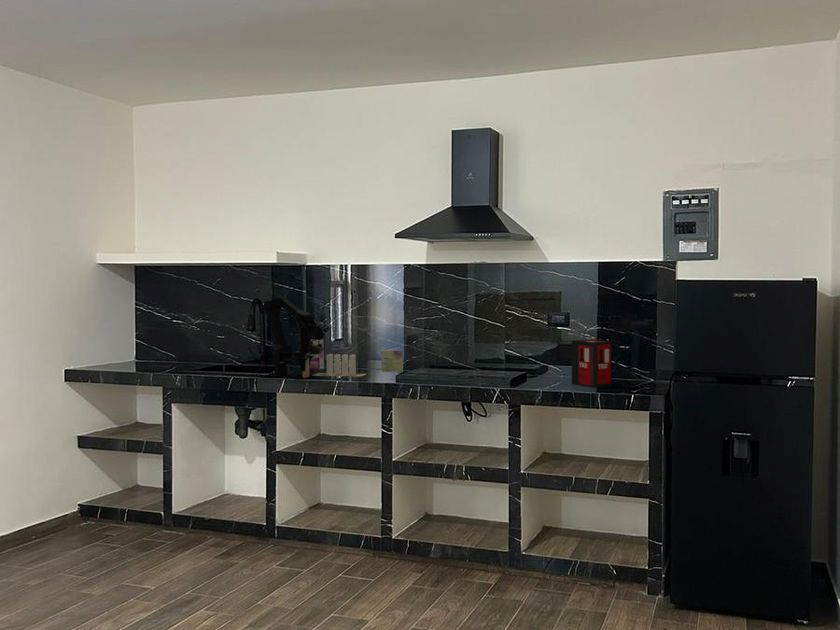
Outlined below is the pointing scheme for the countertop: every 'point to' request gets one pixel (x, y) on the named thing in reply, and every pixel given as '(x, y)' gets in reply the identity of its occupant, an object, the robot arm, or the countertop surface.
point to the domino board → (337, 375)
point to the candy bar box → (318, 357)
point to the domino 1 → (306, 372)
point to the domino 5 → (352, 365)
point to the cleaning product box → (592, 363)
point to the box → (391, 360)
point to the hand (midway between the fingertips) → (305, 370)
